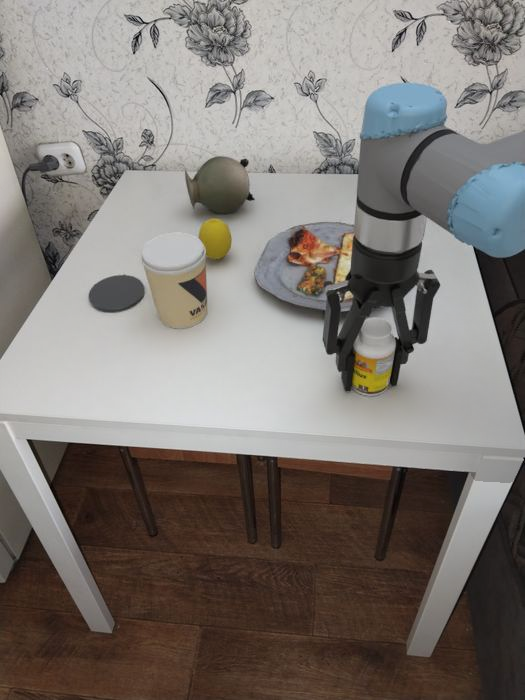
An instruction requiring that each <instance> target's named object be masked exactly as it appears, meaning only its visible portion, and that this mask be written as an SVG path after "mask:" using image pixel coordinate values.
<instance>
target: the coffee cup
mask: <svg viewBox="0 0 525 700" xmlns="http://www.w3.org/2000/svg"><path fill="white" fill-rule="evenodd" d="M206 257H207V256H206V249H205V246H204V244H203V243H202V242H201V240H200V239H199V237H197V236H196V235H194V234H191V233H188V232H182V231H172V232H166V233H162V234H158V235H156V236H154V237H152V238H150V239H149V240H148V241H147V242H146V243H145V244H144V245H143V247H142V250H141V253H140V261H141V264H142V266H143V269H144V272H145V276H146V279H147V283H148V286H149V289H150V293H151V296H152V299H153V303H154V307H155V310H156V312H157V316H158V318H159V320H160V321H161V323H162V324H163V325H165V326H166V327H168V328H173V329H187V328H192V327H194V326H197V325H198V324H200V323H201V322H202V321H204V319H205V318H206V316H207V313H208V285H207V266H206V265H207V264H206Z"/></svg>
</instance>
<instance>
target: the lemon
mask: <svg viewBox="0 0 525 700" xmlns="http://www.w3.org/2000/svg"><path fill="white" fill-rule="evenodd" d="M198 238H199V239H200V240H201V242H202V243H203V244H204V246H205V249H206V256H205V257H208V258H210V259H213V260H219V259H222V258H224V257H225V256H227V255H228V254H229V252H230V250H231V248H232V242H233V241H232V240H233V239H232V233H231V230H230V228H229V226H228V224H226V222H225V221H223V220H222V219H219V218H214V217H213V218H209V219H207V220H206V221H204V222H203V224H201V226H200V228H199V233H198Z"/></svg>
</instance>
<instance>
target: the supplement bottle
mask: <svg viewBox="0 0 525 700" xmlns="http://www.w3.org/2000/svg"><path fill="white" fill-rule="evenodd" d="M392 331H393V328H392V325H391V324H390V322H388V321H387V320H386V319H383V318H381V317H367V318H366V319H365V321H364V323H363V325H362V328H361V330H360V332H359V334H358V336H357V338H356V340H355V342H354V344H353V347H352V350H353V353H354V356H355V359H354V368H353V378H352V388H351V389H352V390H353V391H355V392H356V393H358V394H359V395H363V396H367V397H373V396H378V395H380V394H383V393H384V392H385V391H387V389H388V387H389V385H390V377H391V371H392V366H393V360H394V354H395V348H396V340H395V338H394V337H395V336H394V335H393V333H392Z"/></svg>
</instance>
